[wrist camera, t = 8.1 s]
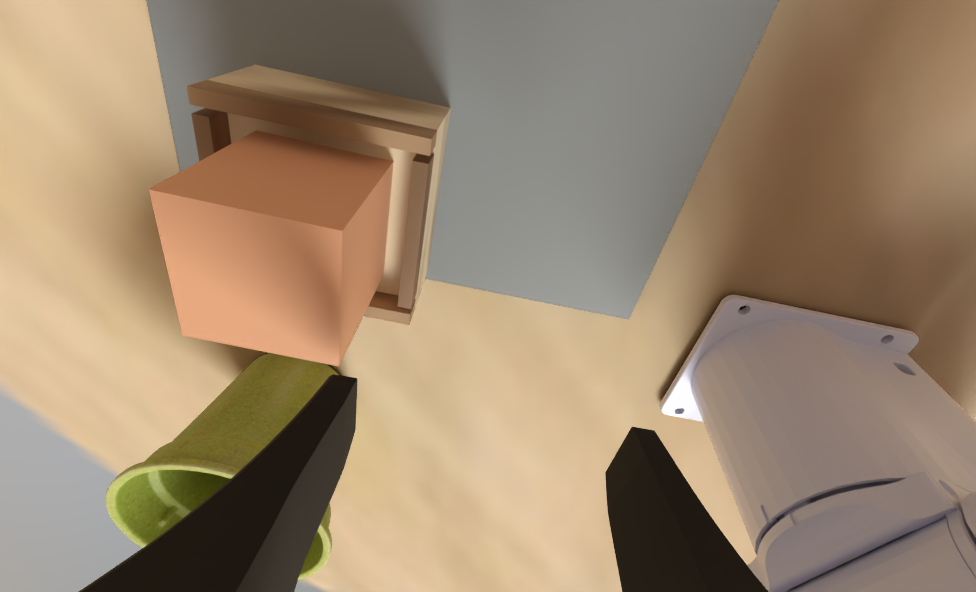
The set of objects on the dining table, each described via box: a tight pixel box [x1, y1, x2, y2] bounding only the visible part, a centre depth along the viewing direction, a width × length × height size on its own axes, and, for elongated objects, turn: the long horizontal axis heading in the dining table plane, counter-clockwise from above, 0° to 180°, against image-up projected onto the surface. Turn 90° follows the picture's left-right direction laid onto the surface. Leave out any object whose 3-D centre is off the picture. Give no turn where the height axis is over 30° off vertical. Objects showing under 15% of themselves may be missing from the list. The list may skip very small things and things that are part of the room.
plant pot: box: [106, 353, 339, 580], centre depth 23 cm, size 9×9×9 cm
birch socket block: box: [187, 65, 451, 325], centre depth 17 cm, size 7×7×4 cm
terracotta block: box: [149, 130, 394, 366], centre depth 14 cm, size 4×4×5 cm
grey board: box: [146, 0, 779, 319], centre depth 16 cm, size 20×18×1 cm
